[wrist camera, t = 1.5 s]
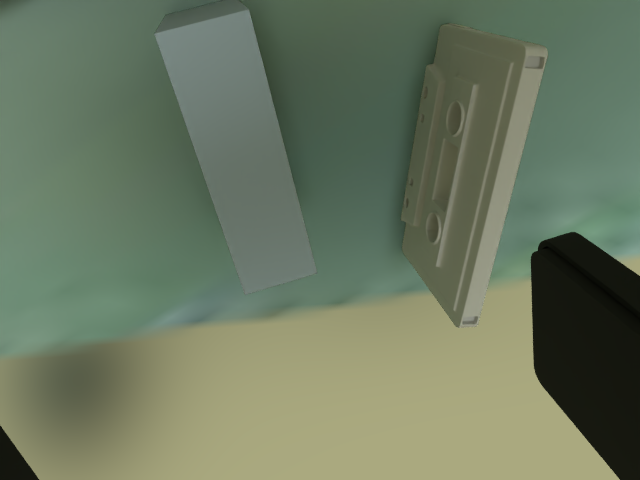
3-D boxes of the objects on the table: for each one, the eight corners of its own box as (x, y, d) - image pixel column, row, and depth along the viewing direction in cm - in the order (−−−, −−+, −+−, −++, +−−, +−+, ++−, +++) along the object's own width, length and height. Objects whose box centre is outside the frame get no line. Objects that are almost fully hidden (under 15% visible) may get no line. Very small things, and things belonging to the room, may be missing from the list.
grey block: (235, -3, 23) (248, 9, 17) (290, 205, 28) (317, 273, 22) (163, 15, 23) (151, 34, 17) (232, 221, 28) (243, 295, 21)
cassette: (423, 250, 31) (486, 330, 24) (392, 251, 30) (447, 333, 24) (467, 24, 25) (563, 46, 19) (430, 21, 25) (515, 42, 18)
